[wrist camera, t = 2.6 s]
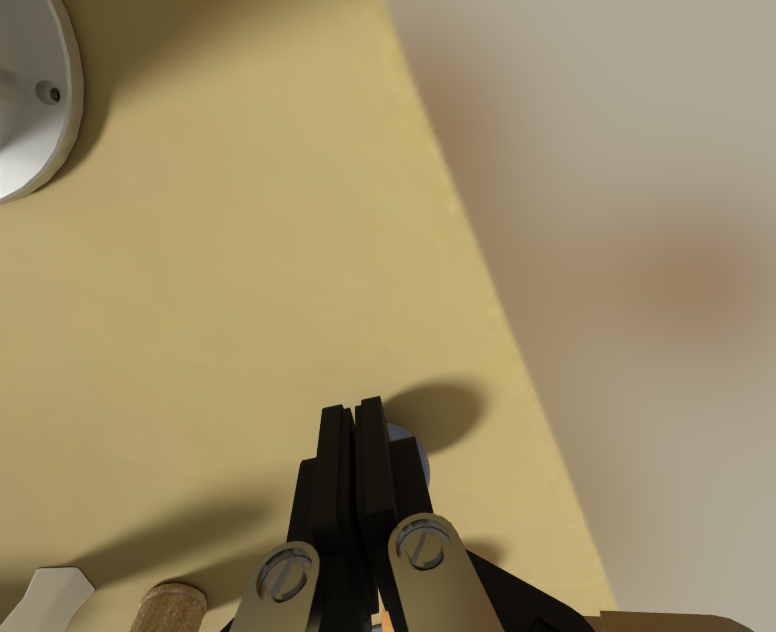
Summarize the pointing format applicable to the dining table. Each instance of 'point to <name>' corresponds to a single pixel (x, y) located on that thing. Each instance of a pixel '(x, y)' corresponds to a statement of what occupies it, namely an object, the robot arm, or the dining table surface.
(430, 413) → the dining table surface
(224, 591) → the dining table surface
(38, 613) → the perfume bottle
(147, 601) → the sprinkles bottle
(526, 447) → the dining table surface
